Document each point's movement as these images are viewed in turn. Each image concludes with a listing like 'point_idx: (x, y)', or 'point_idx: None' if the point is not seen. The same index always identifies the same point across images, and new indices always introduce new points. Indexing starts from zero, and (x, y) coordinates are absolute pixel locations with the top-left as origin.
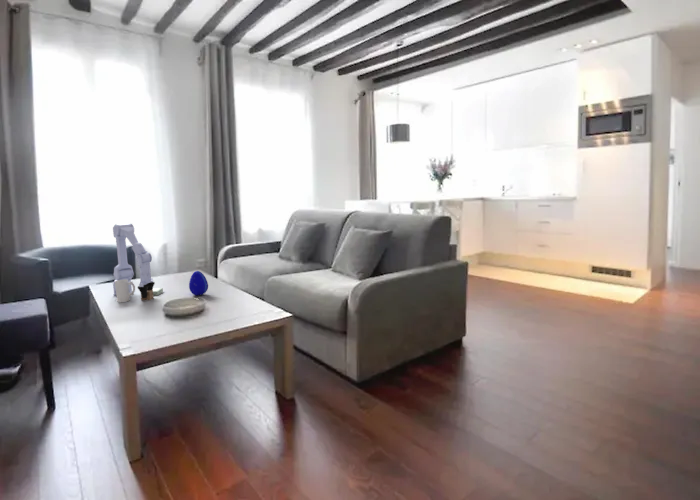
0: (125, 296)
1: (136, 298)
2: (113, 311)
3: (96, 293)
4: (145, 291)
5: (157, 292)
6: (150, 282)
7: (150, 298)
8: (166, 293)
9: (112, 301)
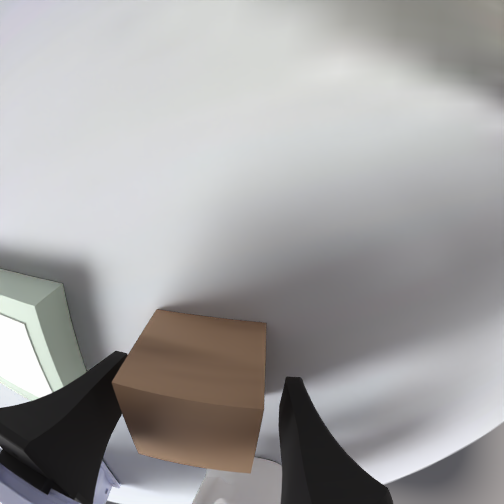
0: (277, 496)
1: None
2: (484, 420)
3: (107, 500)
4: (336, 452)
5: (42, 299)
6: (39, 478)
7: (250, 332)
8: (3, 211)
9: None
